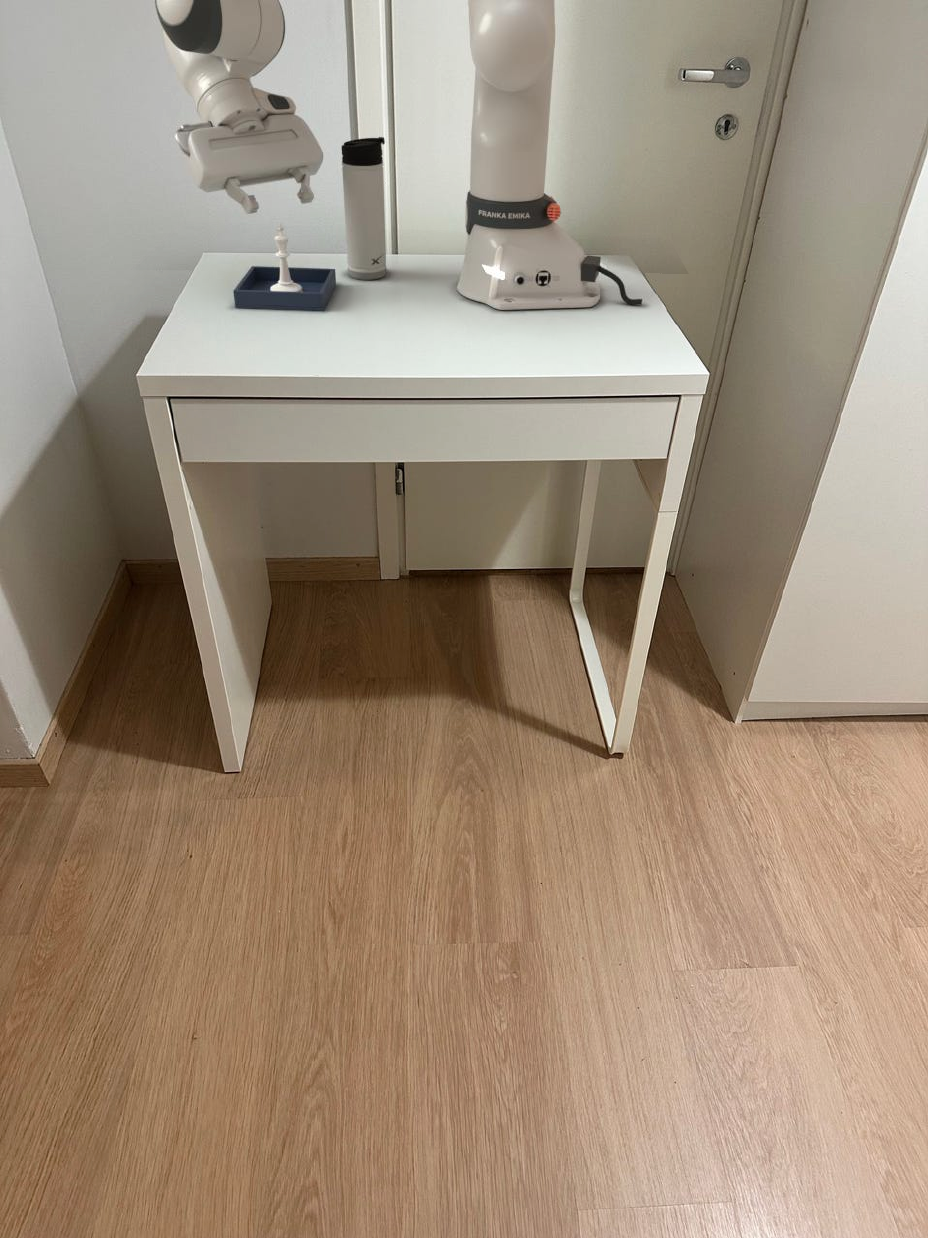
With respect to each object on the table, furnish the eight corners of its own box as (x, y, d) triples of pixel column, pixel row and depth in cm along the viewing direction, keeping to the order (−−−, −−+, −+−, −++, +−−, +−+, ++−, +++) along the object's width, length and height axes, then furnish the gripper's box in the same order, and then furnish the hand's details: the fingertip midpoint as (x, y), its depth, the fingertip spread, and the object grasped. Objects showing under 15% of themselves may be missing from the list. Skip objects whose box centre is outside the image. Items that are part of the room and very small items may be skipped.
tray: (336, 284, 140) (335, 268, 138) (323, 310, 130) (322, 293, 129) (253, 281, 140) (251, 265, 138) (235, 307, 130) (233, 290, 129)
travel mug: (386, 280, 142) (382, 141, 130) (345, 279, 142) (337, 140, 130) (390, 269, 147) (386, 134, 134) (350, 267, 147) (343, 132, 134)
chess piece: (307, 288, 136) (301, 219, 130) (296, 298, 133) (290, 228, 126) (276, 286, 137) (269, 217, 131) (265, 296, 133) (257, 226, 127)
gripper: (174, 110, 118) (223, 202, 118) (301, 97, 129) (346, 181, 129) (164, 142, 123) (212, 230, 124) (287, 127, 134) (330, 208, 135)
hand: (281, 205), depth 127 cm, fingers open, 8 cm apart
